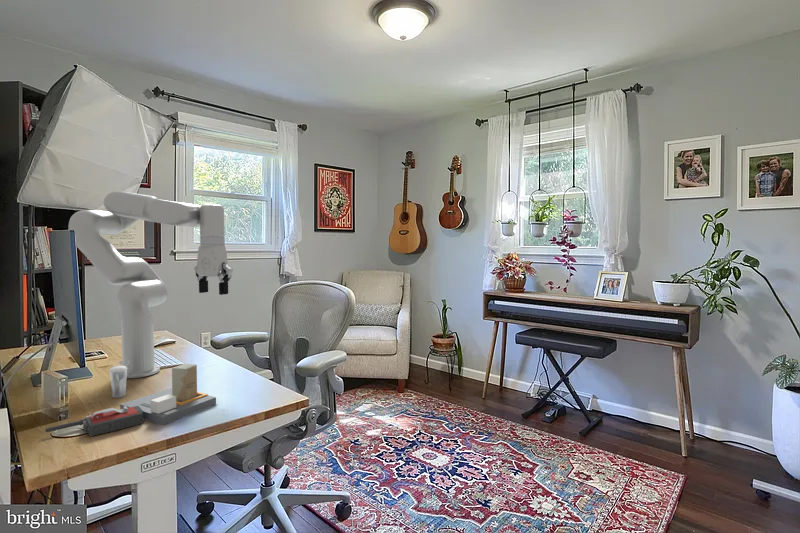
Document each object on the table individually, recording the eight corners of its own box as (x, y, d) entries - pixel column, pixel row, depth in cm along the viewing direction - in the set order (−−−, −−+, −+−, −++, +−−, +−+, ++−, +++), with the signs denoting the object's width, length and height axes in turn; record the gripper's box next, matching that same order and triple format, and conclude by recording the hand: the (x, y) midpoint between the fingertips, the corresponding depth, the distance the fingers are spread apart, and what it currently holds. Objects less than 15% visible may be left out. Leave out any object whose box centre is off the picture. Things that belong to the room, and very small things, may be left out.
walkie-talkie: (140, 412, 118) (44, 434, 105) (140, 396, 118) (44, 416, 104) (149, 422, 112) (48, 448, 98) (149, 405, 112) (48, 428, 98)
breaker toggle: (150, 411, 114) (150, 400, 114) (169, 405, 118) (168, 394, 118) (158, 413, 112) (157, 402, 112) (176, 407, 117) (176, 396, 117)
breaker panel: (120, 411, 119) (120, 402, 119) (174, 393, 133) (174, 385, 133) (162, 425, 111) (162, 415, 111) (216, 404, 125) (215, 395, 125)
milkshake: (134, 394, 132) (133, 361, 131) (114, 400, 128) (113, 366, 127) (126, 391, 135) (125, 359, 134) (107, 396, 130) (105, 363, 130)
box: (184, 409, 121) (183, 369, 121) (171, 407, 122) (170, 368, 122) (198, 402, 126) (197, 364, 126) (185, 400, 128) (184, 362, 127)
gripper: (185, 241, 148) (186, 292, 149) (221, 242, 140) (222, 296, 141) (204, 241, 154) (205, 290, 155) (240, 242, 146) (240, 293, 147)
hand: (213, 293), depth 148 cm, fingers open, 9 cm apart
